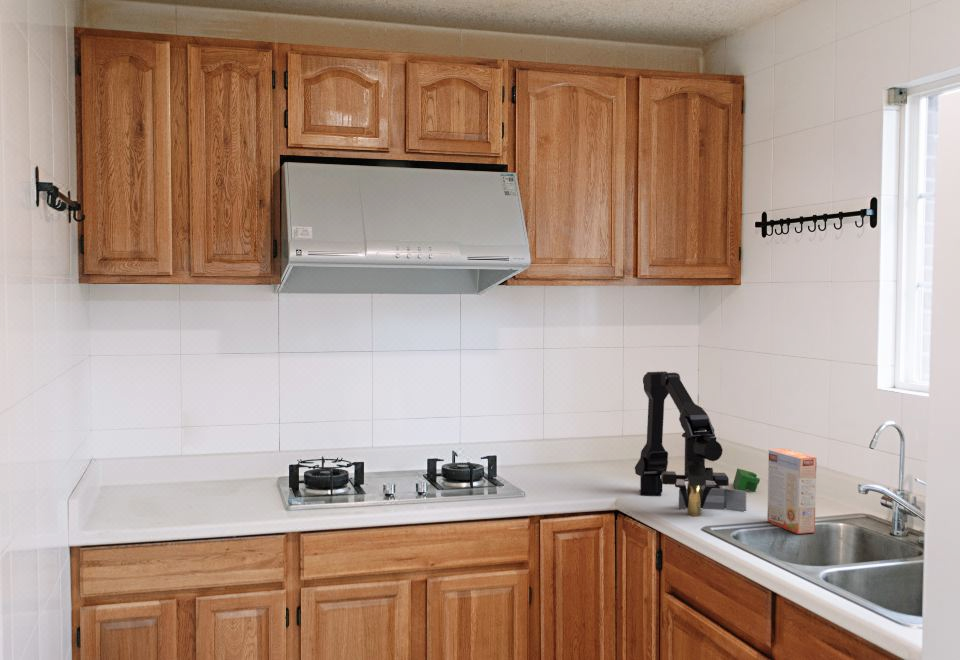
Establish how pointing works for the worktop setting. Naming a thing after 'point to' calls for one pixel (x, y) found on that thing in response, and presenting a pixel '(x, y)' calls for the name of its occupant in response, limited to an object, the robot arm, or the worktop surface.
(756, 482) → the clamp
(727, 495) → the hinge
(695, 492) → the pin
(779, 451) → the cracker box
